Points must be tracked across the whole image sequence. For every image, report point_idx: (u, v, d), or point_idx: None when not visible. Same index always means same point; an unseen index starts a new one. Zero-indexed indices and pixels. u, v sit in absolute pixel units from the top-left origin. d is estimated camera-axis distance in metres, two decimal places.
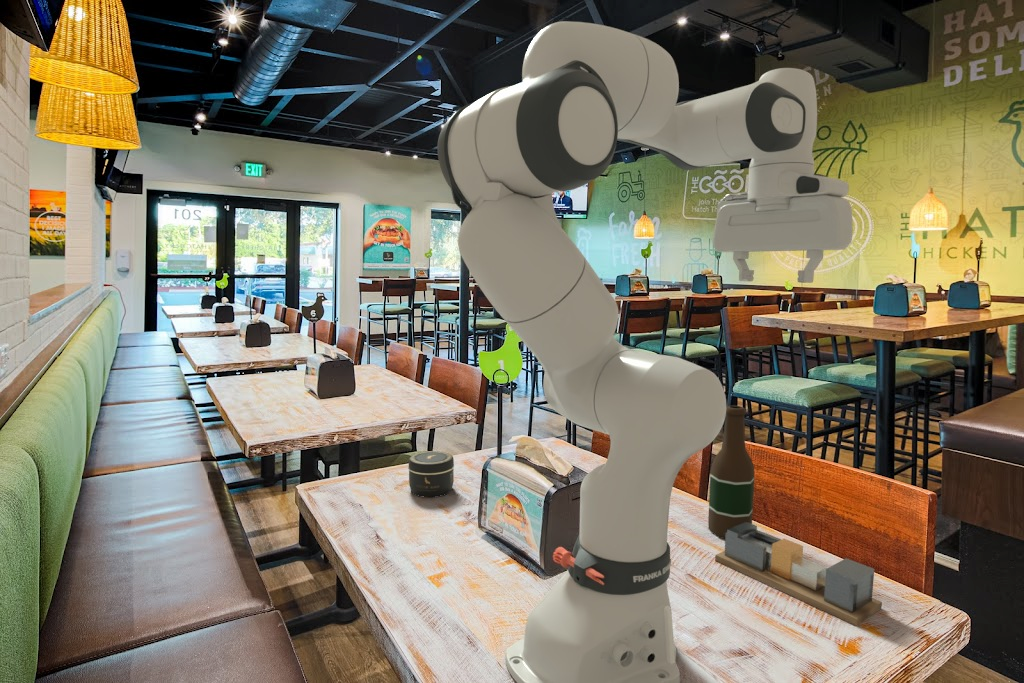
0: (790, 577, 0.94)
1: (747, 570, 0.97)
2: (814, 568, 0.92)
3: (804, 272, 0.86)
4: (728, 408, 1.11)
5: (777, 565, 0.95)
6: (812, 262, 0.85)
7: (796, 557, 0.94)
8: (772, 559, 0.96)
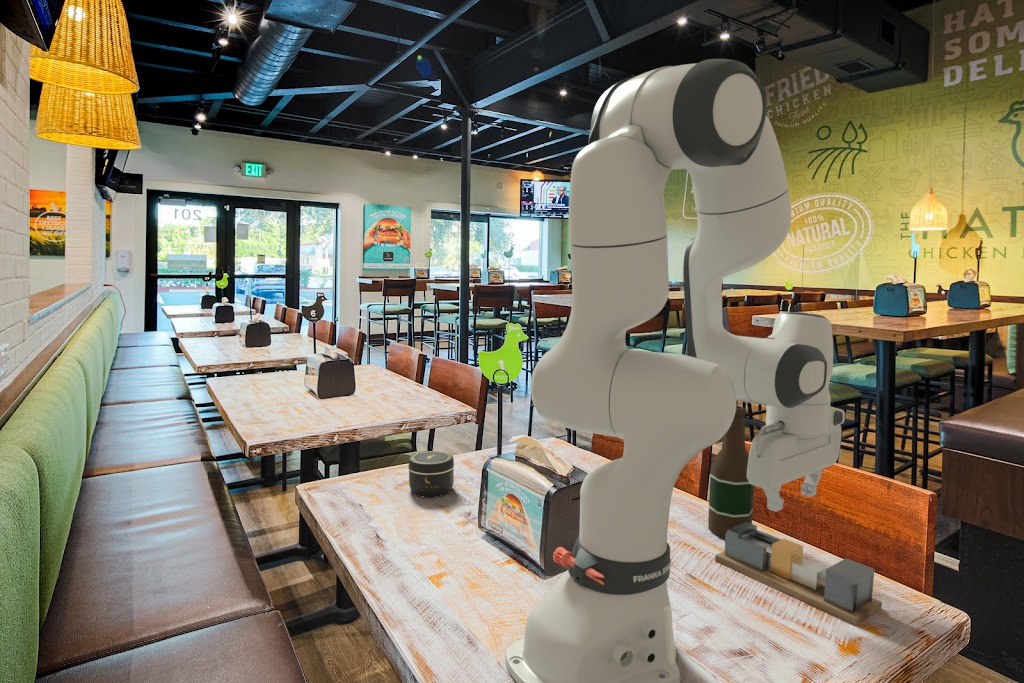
0: (790, 577, 0.94)
1: (747, 570, 0.97)
2: (814, 568, 0.92)
3: (815, 487, 0.97)
4: None
5: (777, 565, 0.95)
6: (819, 478, 0.97)
7: (796, 557, 0.94)
8: (772, 559, 0.96)
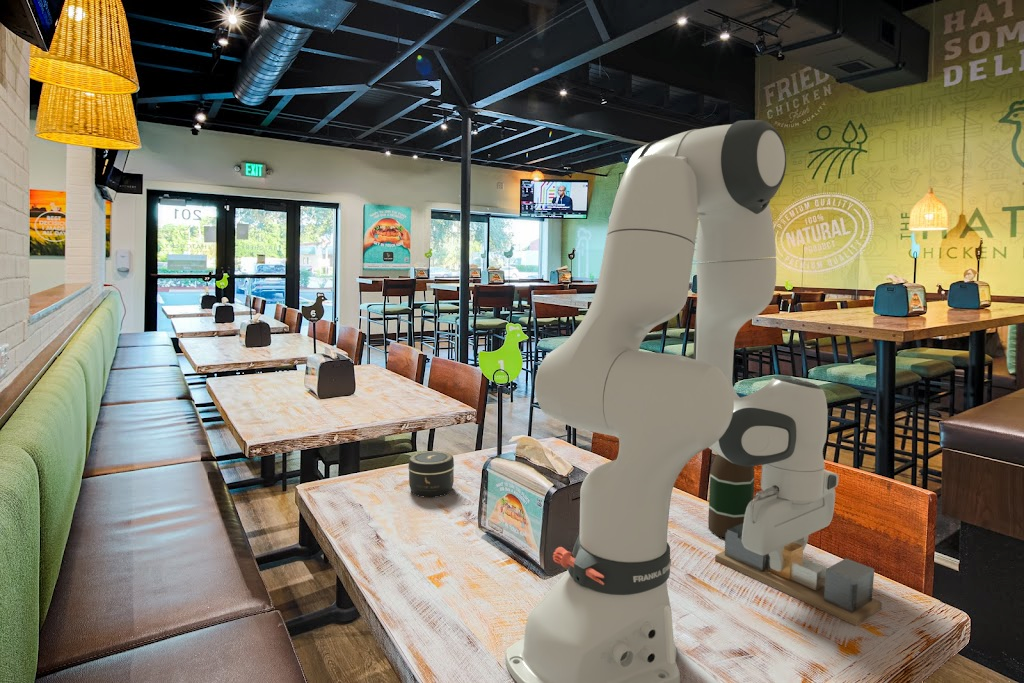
0: (790, 577, 0.94)
1: (747, 570, 0.97)
2: (814, 568, 0.92)
3: None
4: None
5: None
6: (806, 543, 0.97)
7: (796, 557, 0.94)
8: None
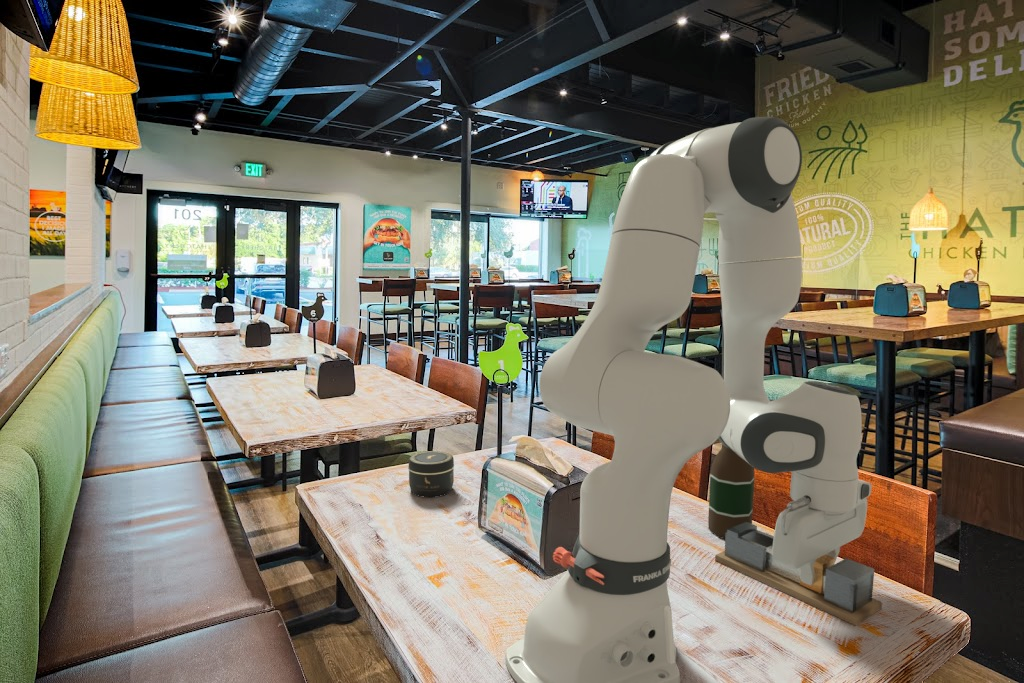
0: (821, 591, 0.90)
1: (747, 570, 0.97)
2: None
3: None
4: None
5: None
6: (837, 555, 0.93)
7: None
8: None
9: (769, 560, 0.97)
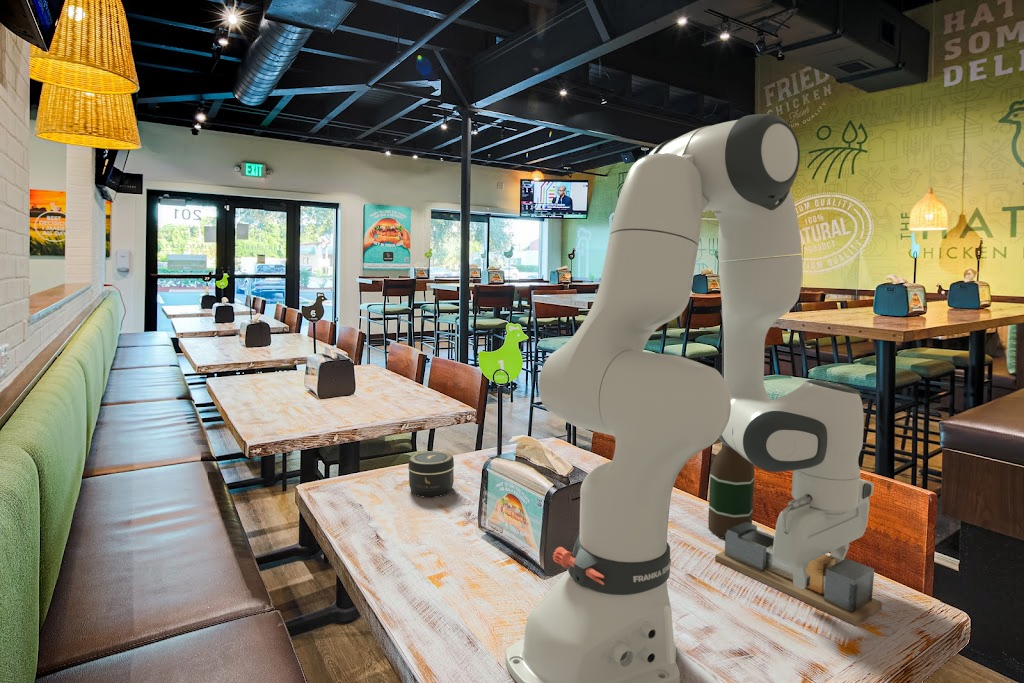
0: (822, 591, 0.90)
1: (747, 570, 0.97)
2: None
3: None
4: None
5: None
6: (846, 551, 0.94)
7: None
8: None
9: (769, 560, 0.97)
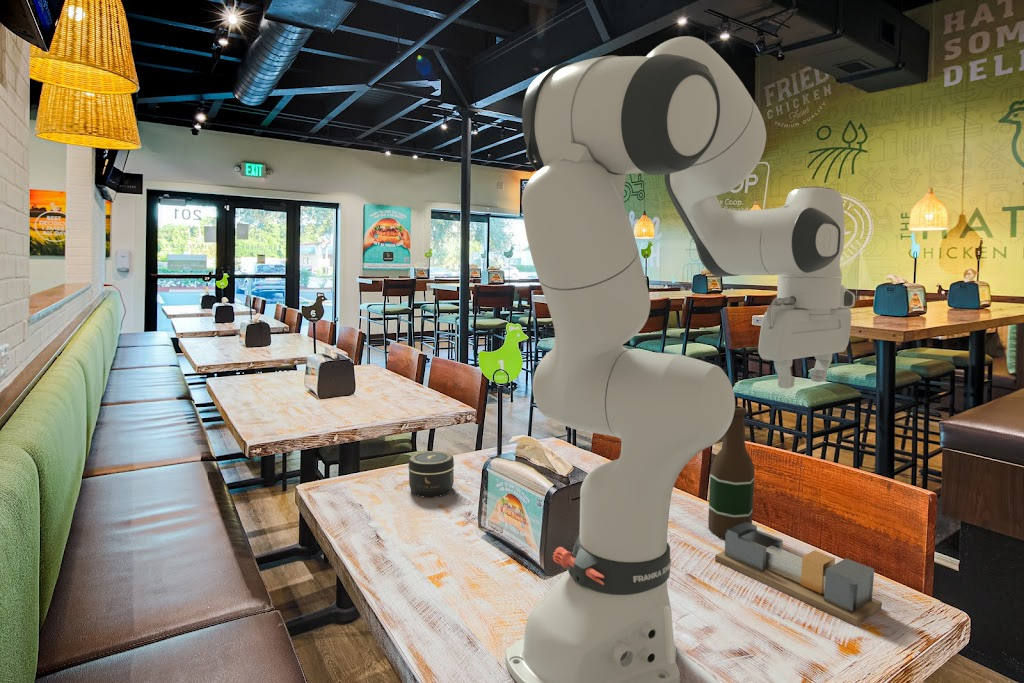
0: (822, 591, 0.90)
1: (747, 570, 0.97)
2: None
3: (825, 373, 0.97)
4: None
5: (808, 578, 0.91)
6: (829, 363, 0.97)
7: None
8: (802, 572, 0.92)
9: (769, 560, 0.97)
